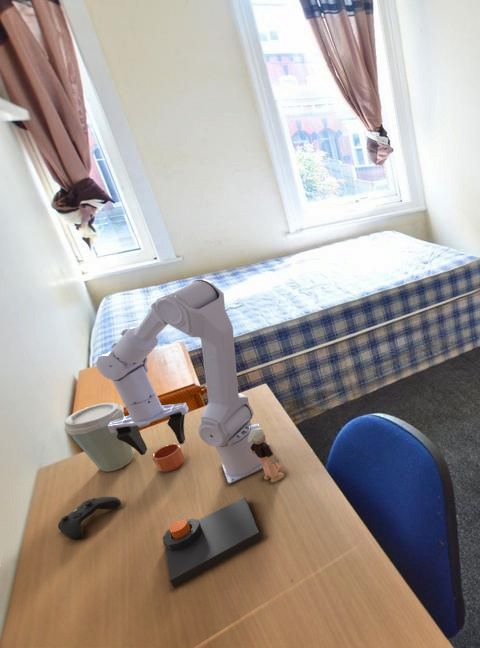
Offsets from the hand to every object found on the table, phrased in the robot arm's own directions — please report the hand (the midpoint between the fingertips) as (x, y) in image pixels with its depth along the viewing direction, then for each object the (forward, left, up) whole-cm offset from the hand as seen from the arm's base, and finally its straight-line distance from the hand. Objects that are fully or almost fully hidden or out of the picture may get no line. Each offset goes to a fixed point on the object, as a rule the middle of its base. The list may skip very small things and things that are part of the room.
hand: (163, 446), depth 108 cm
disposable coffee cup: (+10, -11, -6) cm, 16 cm away
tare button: (0, +30, -2) cm, 30 cm away
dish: (0, 0, -5) cm, 5 cm away
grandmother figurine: (-17, +22, -6) cm, 28 cm away
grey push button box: (-4, +33, -5) cm, 34 cm away
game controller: (+15, +8, -6) cm, 18 cm away
